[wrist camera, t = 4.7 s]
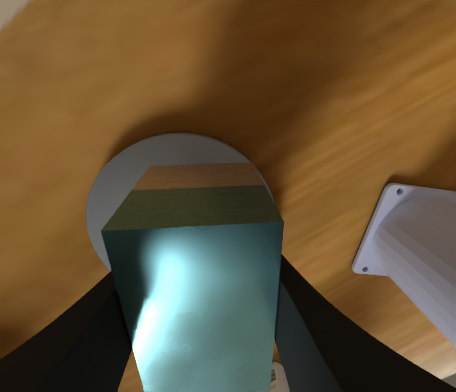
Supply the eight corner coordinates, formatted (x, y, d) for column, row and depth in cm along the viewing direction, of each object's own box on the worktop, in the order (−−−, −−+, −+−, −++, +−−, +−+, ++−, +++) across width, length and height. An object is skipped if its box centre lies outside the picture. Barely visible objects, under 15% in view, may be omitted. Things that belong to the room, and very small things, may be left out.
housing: (250, 286, 15) (270, 390, 10) (169, 290, 15) (147, 400, 10) (252, 162, 12) (283, 221, 7) (149, 166, 12) (100, 230, 7)
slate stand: (291, 146, 17) (297, 151, 15) (254, 293, 22) (257, 306, 20) (90, 117, 15) (78, 120, 14) (100, 280, 20) (92, 294, 19)
